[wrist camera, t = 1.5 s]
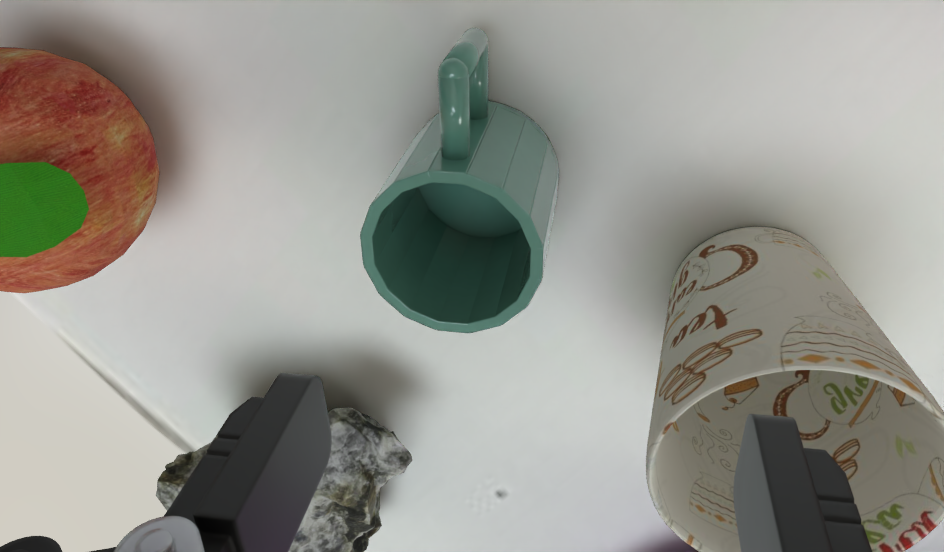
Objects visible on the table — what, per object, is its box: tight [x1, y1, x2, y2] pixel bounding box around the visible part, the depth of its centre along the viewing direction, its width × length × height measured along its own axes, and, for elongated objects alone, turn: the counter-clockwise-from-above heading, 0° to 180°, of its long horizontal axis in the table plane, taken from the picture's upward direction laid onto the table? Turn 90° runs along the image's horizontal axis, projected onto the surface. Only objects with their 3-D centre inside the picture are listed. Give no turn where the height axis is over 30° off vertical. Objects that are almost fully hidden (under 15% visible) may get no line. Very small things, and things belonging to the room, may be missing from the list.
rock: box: [156, 408, 412, 552], centre depth 35 cm, size 12×8×10 cm
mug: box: [646, 227, 944, 552], centre depth 26 cm, size 8×13×10 cm, turn 43°
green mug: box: [360, 28, 559, 333], centre depth 25 cm, size 9×6×6 cm, turn 1°
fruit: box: [0, 47, 159, 293], centre depth 27 cm, size 9×10×10 cm
